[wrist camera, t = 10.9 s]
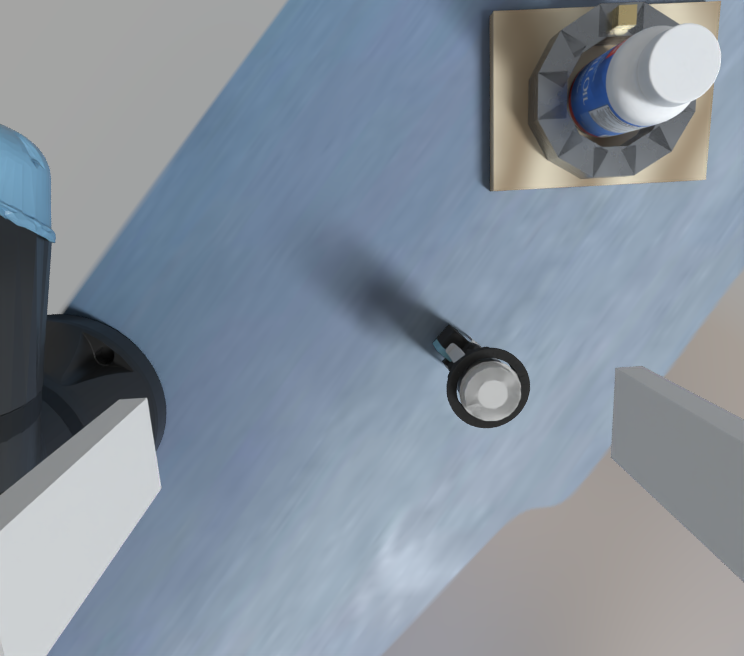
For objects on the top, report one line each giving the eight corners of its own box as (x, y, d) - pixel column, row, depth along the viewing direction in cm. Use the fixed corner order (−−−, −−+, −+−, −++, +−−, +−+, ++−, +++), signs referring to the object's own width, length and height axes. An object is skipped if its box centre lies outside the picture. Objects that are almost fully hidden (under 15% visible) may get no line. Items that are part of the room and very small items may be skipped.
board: (490, 191, 39) (493, 190, 38) (489, 16, 37) (493, 11, 36) (696, 180, 40) (705, 179, 39) (711, 6, 37) (720, 1, 36)
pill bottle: (591, 43, 36) (675, -17, 27) (653, 82, 37) (757, 37, 28) (550, 116, 37) (617, 83, 28) (611, 153, 38) (698, 133, 29)
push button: (517, 358, 42) (567, 401, 33) (474, 406, 43) (510, 462, 33) (457, 307, 41) (490, 336, 31) (413, 357, 42) (433, 400, 32)
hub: (527, 182, 38) (540, 179, 36) (529, 17, 36) (543, 1, 33) (673, 174, 39) (697, 171, 36) (685, 10, 36) (712, -7, 33)
